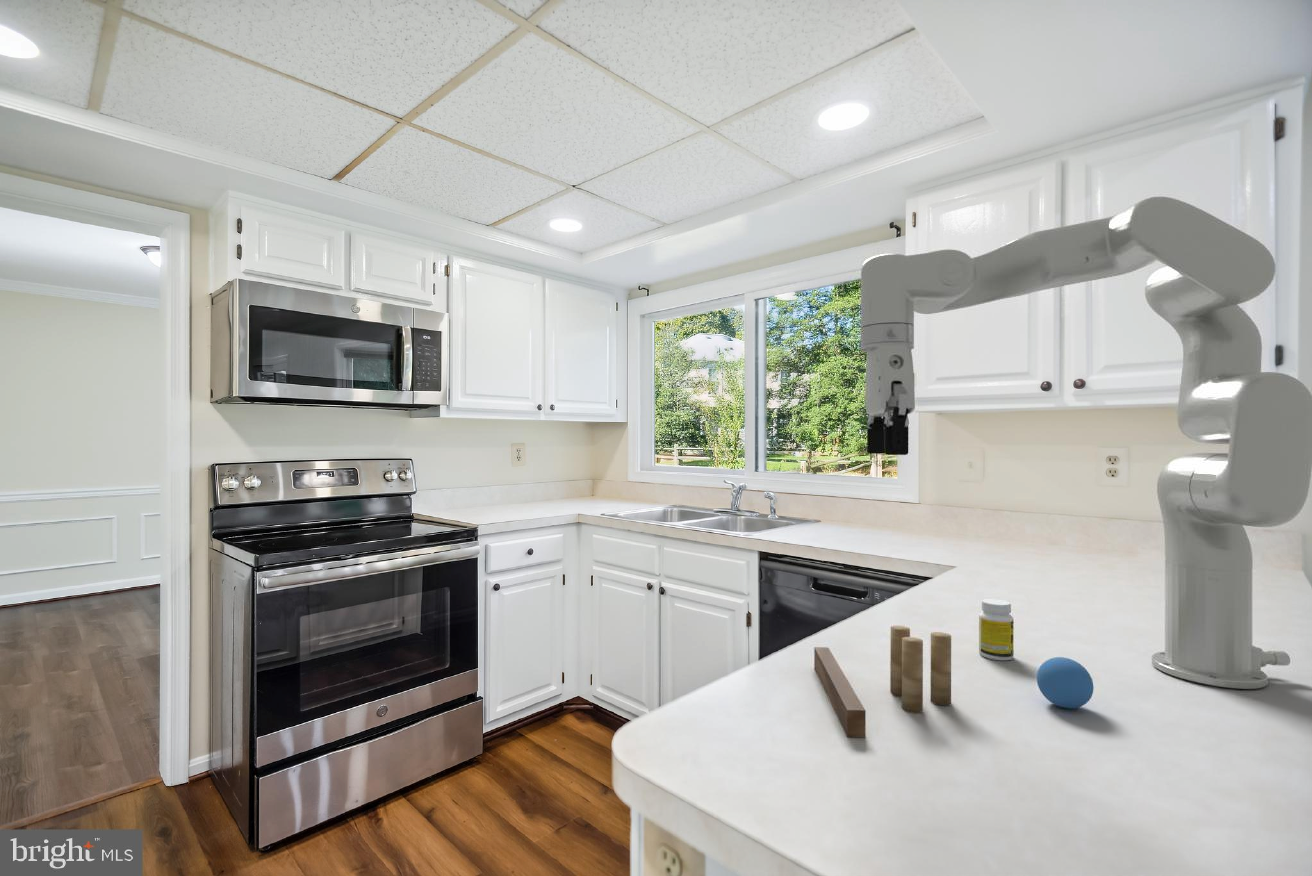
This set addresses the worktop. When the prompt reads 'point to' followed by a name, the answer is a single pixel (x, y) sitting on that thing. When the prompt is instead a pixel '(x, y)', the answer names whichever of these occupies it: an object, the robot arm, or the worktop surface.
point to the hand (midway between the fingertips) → (886, 454)
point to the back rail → (840, 693)
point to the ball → (1065, 682)
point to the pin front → (941, 668)
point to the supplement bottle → (996, 630)
